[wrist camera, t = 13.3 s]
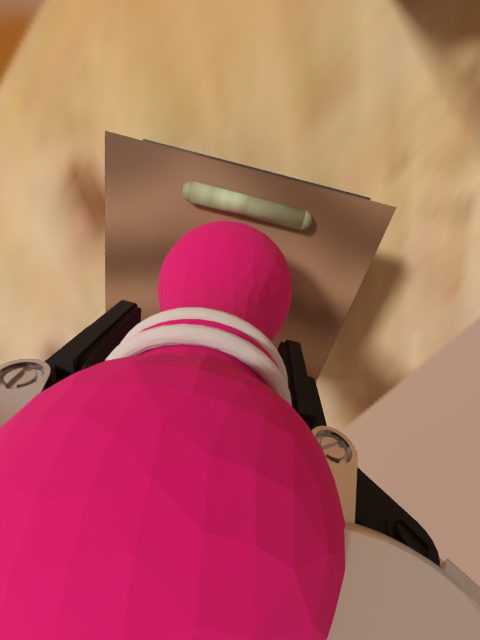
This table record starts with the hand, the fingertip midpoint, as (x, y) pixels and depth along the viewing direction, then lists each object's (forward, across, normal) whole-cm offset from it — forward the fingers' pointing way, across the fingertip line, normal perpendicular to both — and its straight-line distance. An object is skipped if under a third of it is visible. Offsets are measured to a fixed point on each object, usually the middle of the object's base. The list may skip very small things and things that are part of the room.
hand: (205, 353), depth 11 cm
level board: (+11, 0, 0) cm, 11 cm away
